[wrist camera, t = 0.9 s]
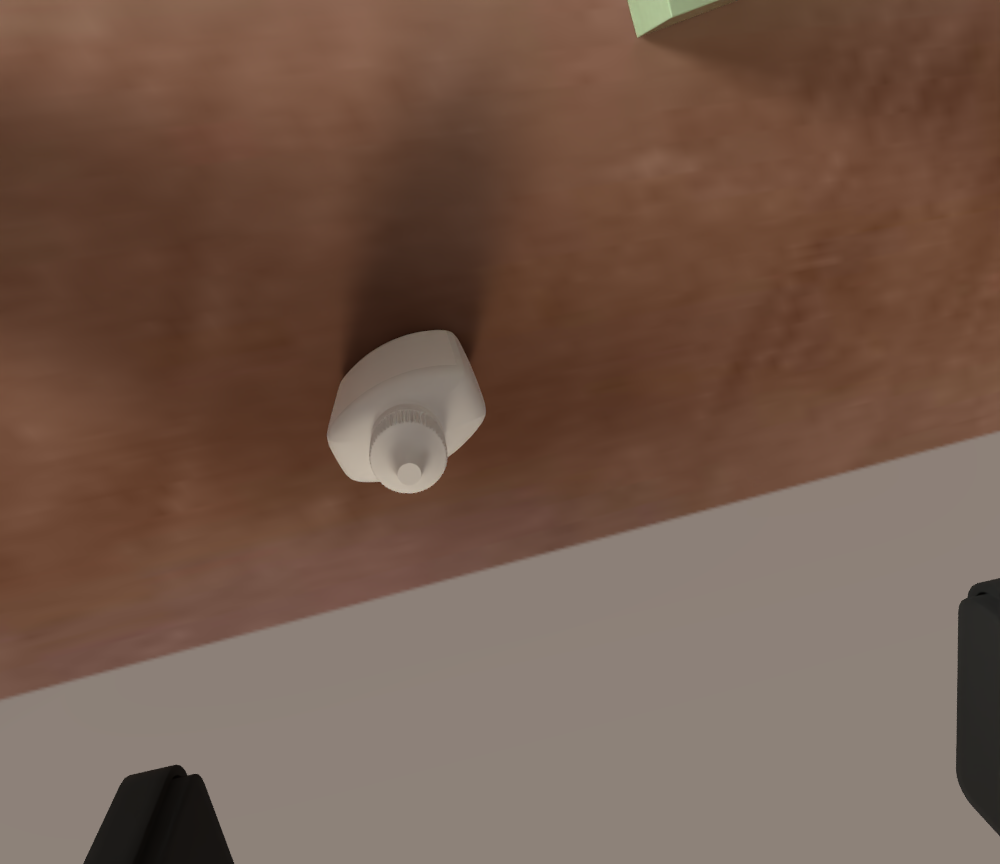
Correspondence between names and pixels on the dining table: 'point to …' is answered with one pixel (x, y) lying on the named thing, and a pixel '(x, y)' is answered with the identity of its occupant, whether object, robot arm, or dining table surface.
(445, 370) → the eye dropper bottle
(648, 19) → the button base
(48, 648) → the dining table surface
